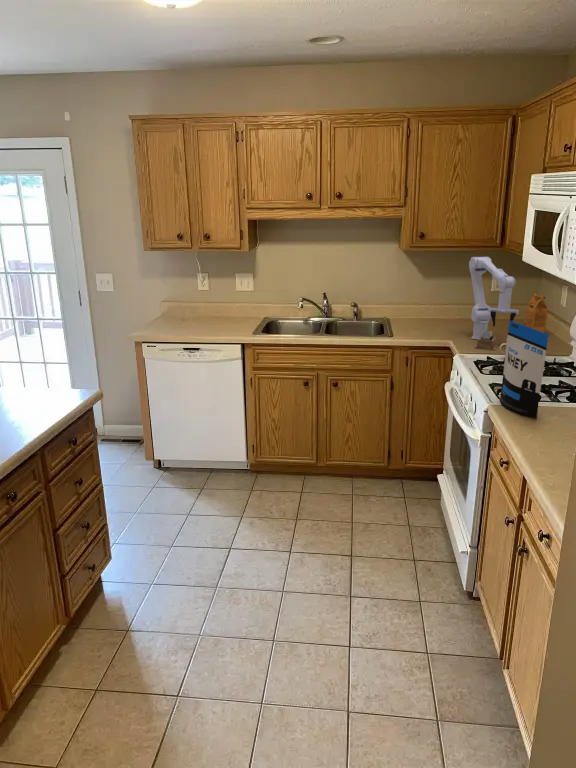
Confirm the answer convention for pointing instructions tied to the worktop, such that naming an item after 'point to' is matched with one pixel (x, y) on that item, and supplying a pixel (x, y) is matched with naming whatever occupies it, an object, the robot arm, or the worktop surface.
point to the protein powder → (523, 369)
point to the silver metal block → (487, 335)
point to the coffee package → (536, 313)
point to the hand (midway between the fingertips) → (501, 326)
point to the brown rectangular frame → (486, 343)
